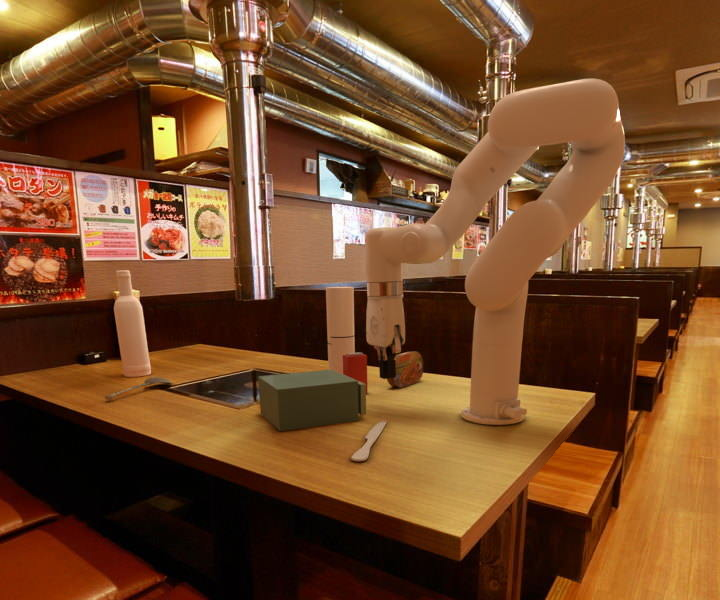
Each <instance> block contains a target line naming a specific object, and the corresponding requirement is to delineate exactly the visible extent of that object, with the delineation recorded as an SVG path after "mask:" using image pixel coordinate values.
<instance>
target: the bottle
mask: <svg viewBox="0 0 720 600" xmlns="http://www.w3.org/2000/svg"><path fill="white" fill-rule="evenodd" d="M115 277H116V280H117V286H118V294H119V296H118V297H117V298H116V300H115V302H114V305H113V313H114V319H115V325H116V333H117V339H118V346H119V352H120V358H121V359H120V360H121V364H122V365H121V368H122V369H121V370H122V372H123V376H124V377H126V378H139V377H141V378H142V377H147V376H150V375H151V374H152V368H151V367H152V366H151V361H150V354H149V348H148V340H147V332H146V325H145V317H144V309H143V305H142V304H141V301H140V300H139V299H137V297H135V296H134V292H133V286H132V275H131V271H130V270H128V269H126V270H125V269H124V270H122V269H121V270H115Z"/></svg>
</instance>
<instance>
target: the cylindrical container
mask: <svg viewBox="0 0 720 600" xmlns="http://www.w3.org/2000/svg"><path fill="white" fill-rule="evenodd" d="M354 293H355V290H354V286H327V287H325V303H326V305H325V306H326V332H327V334H326V335H327V363H328V370H334V371H336V372H338V373H341V374H343V355H346V354H347V353H356V348H355V343H356V342H355V298H354V297H355V296H354Z"/></svg>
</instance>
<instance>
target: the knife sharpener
mask: <svg viewBox="0 0 720 600" xmlns="http://www.w3.org/2000/svg"><path fill="white" fill-rule="evenodd" d="M343 375H346V376H348V377H350V378H353V379H355V380H357V381H360V382H362V383H364V384H366V395H368V355H367V354H364V353H363V352H355V353H347V354H346V355H343Z"/></svg>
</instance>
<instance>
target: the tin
mask: <svg viewBox="0 0 720 600" xmlns="http://www.w3.org/2000/svg"><path fill="white" fill-rule="evenodd" d="M395 361H396V377H395V378H389V379H386V381H387V383H388V385H389V386H391V387H393V388H405V387H407V386H411V385H414V384H416V383H418V382H419V381H420V380H421V379H422V377H423V373H424V367H425V366H424V365H425V364H424V359H423V356H422V354H421V353H420V352H419V351H415V350H414V351H406V352H403V353H398V354H397V358H396V360H395Z"/></svg>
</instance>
